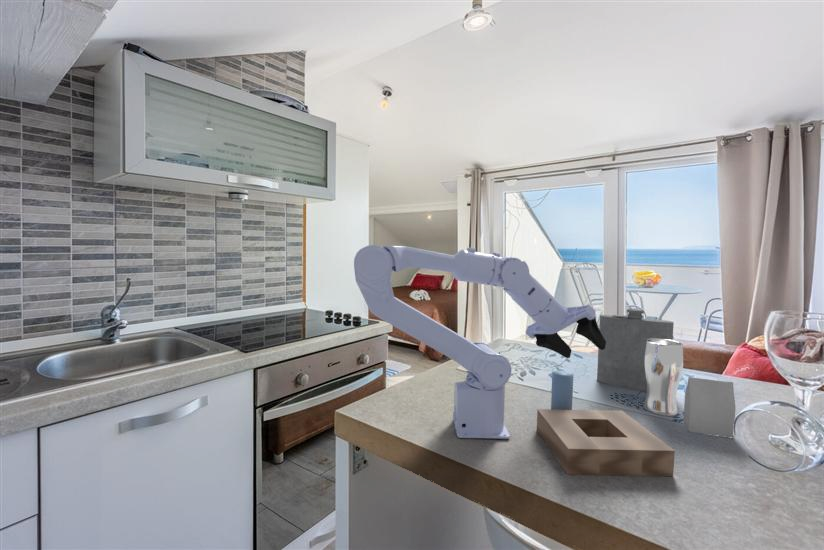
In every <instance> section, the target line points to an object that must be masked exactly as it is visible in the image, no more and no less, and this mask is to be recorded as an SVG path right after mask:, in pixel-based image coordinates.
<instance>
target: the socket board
mask: <svg viewBox="0 0 824 550" xmlns="http://www.w3.org/2000/svg"><path fill="white" fill-rule="evenodd" d="M536 413H537V414H536V416H537V417H536V431H537V433H538V434H539V435H540V437H541V439H543V441H544V443H545V444H546V445H547V447H548V448H549V450H550V452H551V453H552V454H553V455H554V457H555V459H556V460H557V461H558V463H559V464H560V466H561V467H562V469H563V470H564V472H565V474H566V475H584V476H585V475H586V476H589V475H590V476H591V475H593V476H632V477H633V476H634V477H636V476H637V477H640V476H641V477H645V476H646V477H674V471H675V469H674V468H675V456H676V455H675V453H676V451H675V449H673V448H672V447H670V446H669V445H668V444H666V443H665V442H664V441H663V440H661V439H660V438H658V437H657V436H656V435H655V434H653V433H652V432H651V431H650V430H648V429H647V428H646V427H644V426H643V425H641V423H639V422H638V421H636V420H635V419H634V418H633V417H631V416H630V415H629V414H627V413H626V412H625V411H624V410H602V409H601V410H600V409H599V410H598V409H595V410H593V409H572V410H551V408H550V409H549V408H547V409H537V412H536Z"/></svg>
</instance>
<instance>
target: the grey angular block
mask: <svg viewBox="0 0 824 550" xmlns="http://www.w3.org/2000/svg"><path fill="white" fill-rule="evenodd" d="M686 384H687V385H686V388H685V393H684V405H683V406H684V407H683V420H682V421H683V422H682V423H683V425H684V427H685V428H686V430H687V431H688V432H691V433H696V432H697V433H698V434H702V433H703V435H708V434H711V435H710V436H714V435H719V436H726V437H733V438H734V436H735V435H733V424H734V425H735V423H734V421H736V420H735V418H736V408H737V407H736V400H735V399H736V398H735V391H734V382H733V381H726V380H718V379H709V378H702V377H693V376H688V379H687V383H686ZM719 436H718V437H719Z"/></svg>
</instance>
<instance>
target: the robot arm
mask: <svg viewBox="0 0 824 550" xmlns="http://www.w3.org/2000/svg"><path fill="white" fill-rule="evenodd" d="M353 268H354V269H353V270H354V278H355V279H354V280H355V282H356V285H357V286H358V289H359V291H360V292H361V295H362V296H363V297H362V298H363V299H364V302H365V304H366V305H367V308H368V310H369V311H370V313H371V314H372V315H374V316H375V317H377V318H379V319H380V320H382V321H383V322H386V324H387V323H388V324H389V325H391V326H392V327H395V328H396V329H398V330H399V331H401V332H403V333H404V334H407V335H408V336H410V337H412V338H414V339H416V340H418V342H421V343H423V344H424V345H426V346H428V347H430V348H431V349H433V350H435V351H436V352H438V353H440V354H442V355H444V356H445V357H447V358H448V359H451V360H453V361H454V362H456V363H457V364H458V365H460V366H462V368H464V369H465V370H467V374H466V378H465V380H463V381H457V382H454V389H453V390H454V391H453V411H452V420H453V423H454V428H455V433H456V435H457V438H460V439H510V438H511V435H510V433H509V430H508V428H507V427H506V425H505V394H506V393H505V392H506V384H507V383H508V382H509V381H510V378H511V376H512V366H511V363H510V361H509V360H508V358H506V356H504V355H502V354H500V353H498V352H496V351H495V350H494V349H493V348H491V347H490V345H488V344H486V343H485V342H480V341H474V340H473V341H472V340H470V339H469V338H466V337H464V336H462V335H460V334H459V333H457V332H455V331H453V330H452V329H451V328H449V327H447V326H446V325H444V324H442V323H440V322H439V321H436V320H435V319H433V318H432V317H430V316H428V315H426V314H425V313H423V312H421V311H419V310H417V308H414V307H413V306H411V305H410V304H408V303H406V302H404V301H403V300H401V299H399V298H397V297H395V294H394V290H393V286H392V282H391V280H392V272H395V273H399V272H401V271H403V270H406V269H408V268H418V269H425V270H426V269H427V270H432V271H434V270H435V271H443V272H450V273H451V274H452V277H454V279H455V280H456V281H459V282H467V283H471V284H472V283H473V284H479V285H486V286H491V285H492V286H494V287H500V288H502V289H503V291H504V292H505V293H507V295H508V296H509V297H511V299H512V300H513V302H515V304H517V305H518V306H519V307H520V308H521V309H522V310H523V311H524V312H525V313H526V314H527V315H528V316H529V317H530V318H531V319H532V320H533V321H534V322H533V323H531V324H529V325H528V326H527V327H526V330H525V334H526V335H527V336H528V337H529V338H530V339H536V341H535V345H536V346H537V347H539V348H545V349H548V350H551V351H553V352H555V353H557V354H558V355H560V356H562V357H563V358H566V359H569V358H571V354H572V348H571V347H570V346H569V344H567V342H565V340H564V339H562V337H561V336H560V335H559V332H561V331H563V330H564V329H566V328H567V327H569V326H571V325H573V324H575V323H577V326H576V330H575V333H576V334H578V335H579V336H582V337H584V338H586V339H587V340H589V342H591V343H592V344H593V345H594V346H595V347H596V348H597V349H598V348H599V349H601V350H603V349H605V345H606V341H605V339H604V337H603V336H602V334H601V332H600V330H599V325H598V322H597V318H596V310H595V309H594V308H593V307H592V306H591V304H586V305H580V306H571V307H570V306H568V307H566V305H564V304H561V303H560V302H559V301H558V300H557V299H556V298H555V297H554V295H552V293H550V292H549V291H548V290H547V289H546V288H545V287H544V286H543V285H542V284H541V283H540V282H539V281H538V280H537V279H536V278H535V277H534V276H532V274H530V268H529V265H528V264H527V262H526V261H525V260H523V261H522V260H521V259H520V258H517V257H509V256H501V253H500V252H492V253H490V254H489V253H486V252H480V251H477V248H475V247H467V248H466V249H460V250H459V251H457V252H456V253H454V254H448V253H443V252H437V251H432V250H428V249H427V250H426V249H422V248H416V247H410V246H407V245H406V246H405V245H384V246H380V245H377V244H371V245H370V244H369V245H366V246H364V247H362V248H360V249H359V250H358V251H357V252H356V254H355V256H354V260H353Z"/></svg>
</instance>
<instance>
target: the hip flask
mask: <svg viewBox="0 0 824 550" xmlns="http://www.w3.org/2000/svg"><path fill="white" fill-rule="evenodd" d="M626 312H627V313H628V314H627V315H625V314H624V315H621V314H612V315H611V314H600V315H599V325H598V328H599V330H600V332H601V334H602V336H603V337H604V339H605V341H606V345H605V349H603V350H601V349H599V348H598V347H597V349H598V350H597V352H598V353H597V368H596V369H597V373H596V376H597V377H596V381H597V382H600V383H601V384H607V385H611V386H615V387H620V388H625V389H628V390H630V389H631V390H635V391H640V392H645V393H647V386H646V379H645V372H644V351H645V345H646V339H650V338H658V339H667V340H673V341H674V339H673V338H674V323H675V322H674V321H671V320H665V319H664V320H663V319H650V318H643V315H644V312H645V311H644V309H640V308H626Z"/></svg>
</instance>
